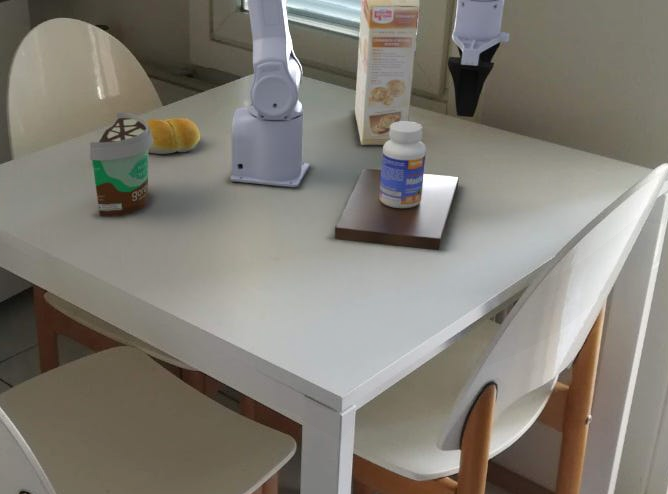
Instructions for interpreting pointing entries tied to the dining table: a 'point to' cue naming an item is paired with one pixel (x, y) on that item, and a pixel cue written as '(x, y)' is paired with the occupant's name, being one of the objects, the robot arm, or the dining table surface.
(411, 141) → the pill bottle
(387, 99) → the coffeecake box
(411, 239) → the walnut board
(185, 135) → the bread roll
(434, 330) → the dining table surface
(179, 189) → the dining table surface
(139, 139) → the food container
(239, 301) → the dining table surface
